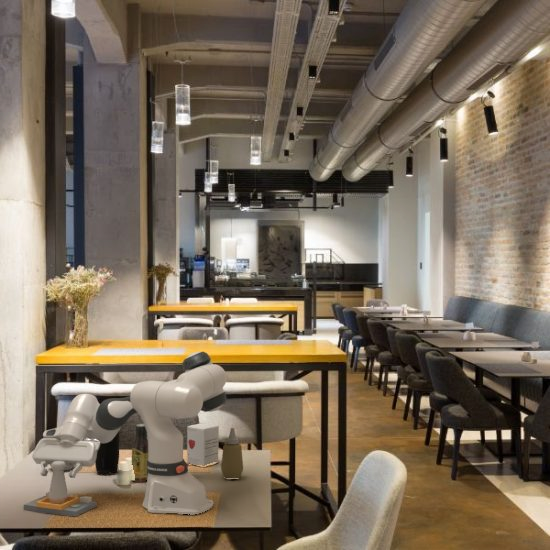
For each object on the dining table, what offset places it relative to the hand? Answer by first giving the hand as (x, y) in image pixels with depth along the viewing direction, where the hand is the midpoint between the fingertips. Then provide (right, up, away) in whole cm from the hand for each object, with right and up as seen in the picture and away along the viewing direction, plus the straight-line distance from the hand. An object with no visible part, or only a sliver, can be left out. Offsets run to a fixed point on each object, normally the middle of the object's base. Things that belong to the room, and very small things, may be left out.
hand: (57, 476), depth 236 cm
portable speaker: (+5, -11, +45) cm, 47 cm away
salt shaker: (0, -9, 0) cm, 9 cm away
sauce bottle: (+20, -11, +35) cm, 41 cm away
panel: (0, -10, +2) cm, 11 cm away
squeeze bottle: (+52, -11, +38) cm, 66 cm away
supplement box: (+39, -11, +59) cm, 72 cm away
